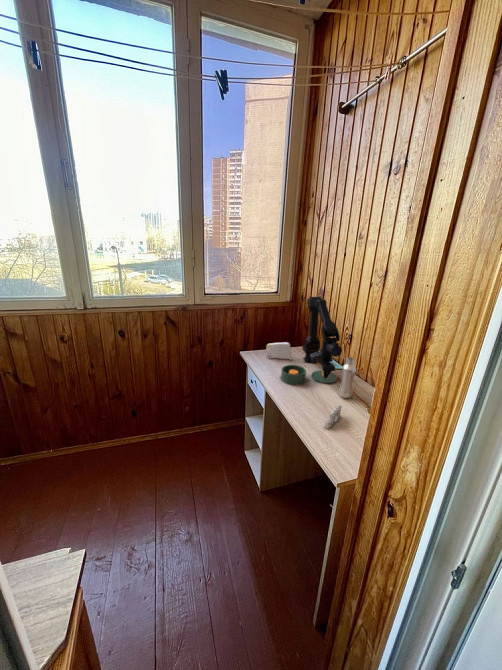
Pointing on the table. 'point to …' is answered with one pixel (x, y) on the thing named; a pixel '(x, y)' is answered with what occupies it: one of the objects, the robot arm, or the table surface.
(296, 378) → the tin
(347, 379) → the silver metal bottle
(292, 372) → the candle
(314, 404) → the table surface
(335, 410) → the grey stone
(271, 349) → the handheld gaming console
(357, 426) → the table surface
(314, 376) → the tin lid
